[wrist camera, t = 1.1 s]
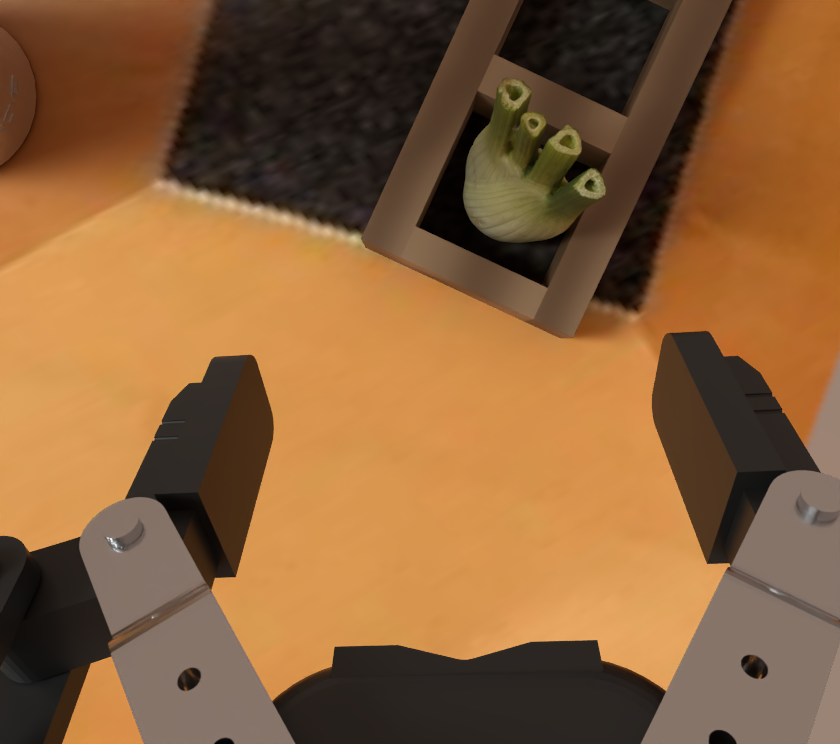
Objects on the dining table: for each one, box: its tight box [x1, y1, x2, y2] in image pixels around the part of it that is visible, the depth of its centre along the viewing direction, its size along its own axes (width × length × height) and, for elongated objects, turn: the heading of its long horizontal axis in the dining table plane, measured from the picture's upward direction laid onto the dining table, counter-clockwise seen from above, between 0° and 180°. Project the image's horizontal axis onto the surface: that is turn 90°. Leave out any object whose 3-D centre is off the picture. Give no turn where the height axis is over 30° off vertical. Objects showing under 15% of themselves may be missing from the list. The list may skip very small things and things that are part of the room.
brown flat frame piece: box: [361, 0, 732, 338], centre depth 34 cm, size 12×30×3 cm, turn 155°
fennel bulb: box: [463, 78, 606, 243], centre depth 30 cm, size 6×5×12 cm
